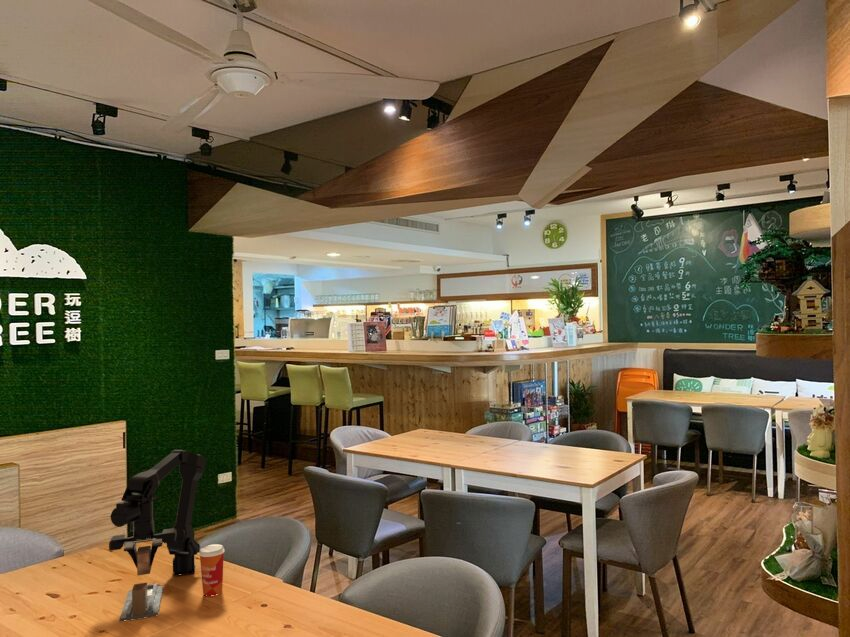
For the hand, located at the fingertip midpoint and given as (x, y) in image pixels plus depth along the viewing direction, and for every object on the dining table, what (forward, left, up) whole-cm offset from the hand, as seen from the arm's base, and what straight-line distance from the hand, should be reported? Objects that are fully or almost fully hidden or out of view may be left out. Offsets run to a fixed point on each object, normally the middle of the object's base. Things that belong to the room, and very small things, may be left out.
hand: (144, 566), depth 191 cm
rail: (0, +6, -9) cm, 11 cm away
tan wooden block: (0, 0, -2) cm, 2 cm away
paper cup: (-20, +6, -9) cm, 23 cm away
